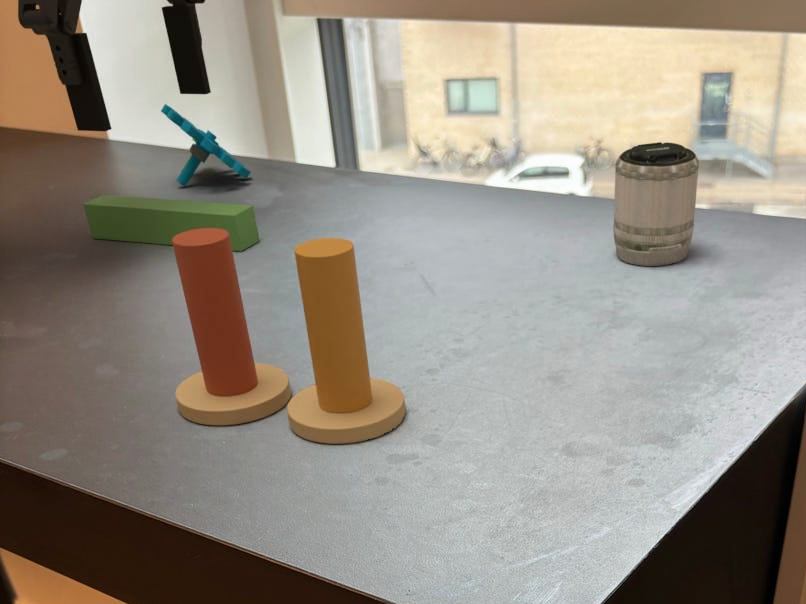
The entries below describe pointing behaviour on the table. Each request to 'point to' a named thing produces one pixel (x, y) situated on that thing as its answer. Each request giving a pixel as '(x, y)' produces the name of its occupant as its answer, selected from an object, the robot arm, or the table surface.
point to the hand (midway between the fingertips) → (148, 111)
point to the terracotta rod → (221, 338)
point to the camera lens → (655, 203)
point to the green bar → (167, 219)
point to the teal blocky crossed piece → (201, 148)
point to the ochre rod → (338, 353)
